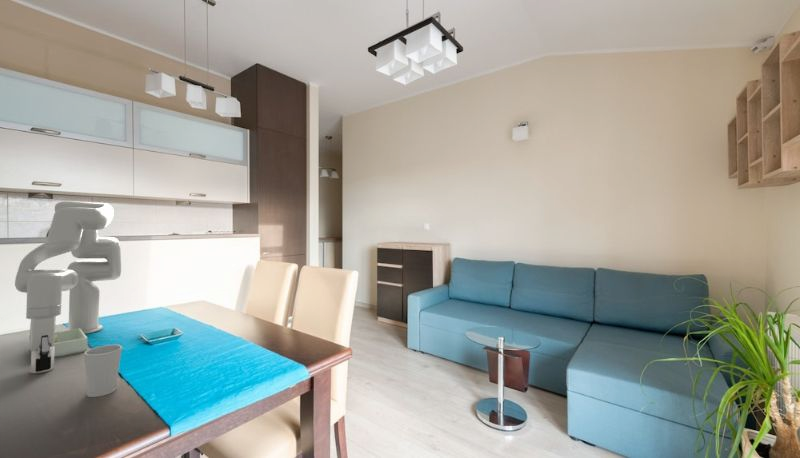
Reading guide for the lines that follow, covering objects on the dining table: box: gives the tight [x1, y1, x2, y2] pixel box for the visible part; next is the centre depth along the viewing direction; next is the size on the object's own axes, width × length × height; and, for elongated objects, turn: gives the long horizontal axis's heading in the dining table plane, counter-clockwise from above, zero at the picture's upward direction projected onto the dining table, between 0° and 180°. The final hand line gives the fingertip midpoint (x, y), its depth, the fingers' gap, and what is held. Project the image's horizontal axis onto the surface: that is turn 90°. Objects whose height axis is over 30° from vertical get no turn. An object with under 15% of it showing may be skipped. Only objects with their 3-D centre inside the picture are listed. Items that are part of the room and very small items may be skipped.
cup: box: [83, 344, 123, 398], centre depth 92 cm, size 8×8×12 cm
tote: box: [30, 328, 89, 359], centre depth 120 cm, size 17×13×5 cm
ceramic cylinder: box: [30, 346, 55, 374], centre depth 103 cm, size 5×5×7 cm
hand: (42, 366), depth 103 cm, fingers closed on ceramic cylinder, 5 cm apart
